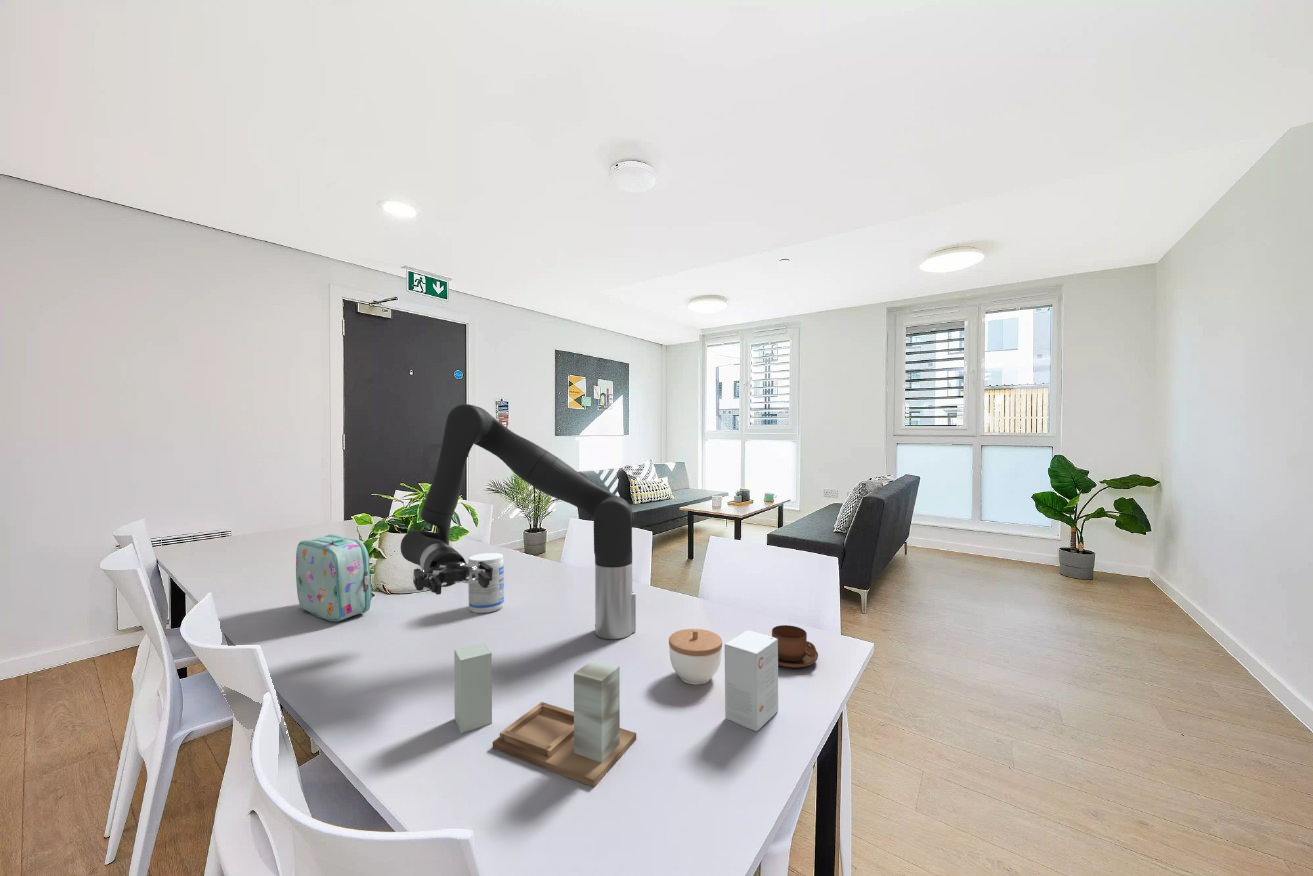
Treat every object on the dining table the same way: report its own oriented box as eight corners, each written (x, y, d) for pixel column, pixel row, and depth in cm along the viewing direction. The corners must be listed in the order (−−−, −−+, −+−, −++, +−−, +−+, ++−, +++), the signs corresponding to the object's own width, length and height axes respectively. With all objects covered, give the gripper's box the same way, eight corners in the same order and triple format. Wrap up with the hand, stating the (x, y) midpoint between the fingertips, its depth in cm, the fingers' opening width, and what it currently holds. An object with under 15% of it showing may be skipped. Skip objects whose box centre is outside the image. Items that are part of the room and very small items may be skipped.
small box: (747, 699, 90) (747, 628, 90) (779, 711, 86) (779, 638, 86) (723, 718, 84) (723, 643, 84) (756, 733, 80) (756, 653, 80)
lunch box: (379, 616, 133) (378, 537, 133) (338, 628, 124) (337, 544, 124) (331, 598, 147) (330, 527, 147) (291, 609, 138) (290, 533, 138)
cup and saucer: (821, 653, 109) (821, 626, 109) (814, 678, 99) (814, 647, 99) (767, 644, 115) (767, 618, 114) (755, 666, 104) (755, 637, 104)
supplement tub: (508, 610, 137) (508, 557, 137) (473, 617, 132) (472, 562, 132) (498, 600, 145) (498, 550, 145) (464, 606, 140) (464, 555, 140)
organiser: (543, 709, 87) (542, 636, 87) (636, 739, 79) (636, 658, 78) (492, 748, 76) (492, 665, 76) (594, 787, 68) (593, 693, 68)
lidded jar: (726, 669, 102) (726, 624, 102) (715, 695, 92) (715, 645, 92) (677, 661, 106) (677, 618, 105) (661, 685, 95) (661, 637, 95)
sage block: (484, 709, 87) (484, 642, 87) (491, 723, 83) (491, 652, 83) (454, 718, 85) (454, 649, 84) (460, 733, 80) (460, 660, 80)
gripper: (406, 549, 101) (423, 570, 88) (476, 543, 110) (502, 562, 97) (404, 585, 101) (421, 612, 88) (474, 576, 110) (499, 599, 97)
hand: (463, 586), depth 93 cm, fingers open, 8 cm apart
